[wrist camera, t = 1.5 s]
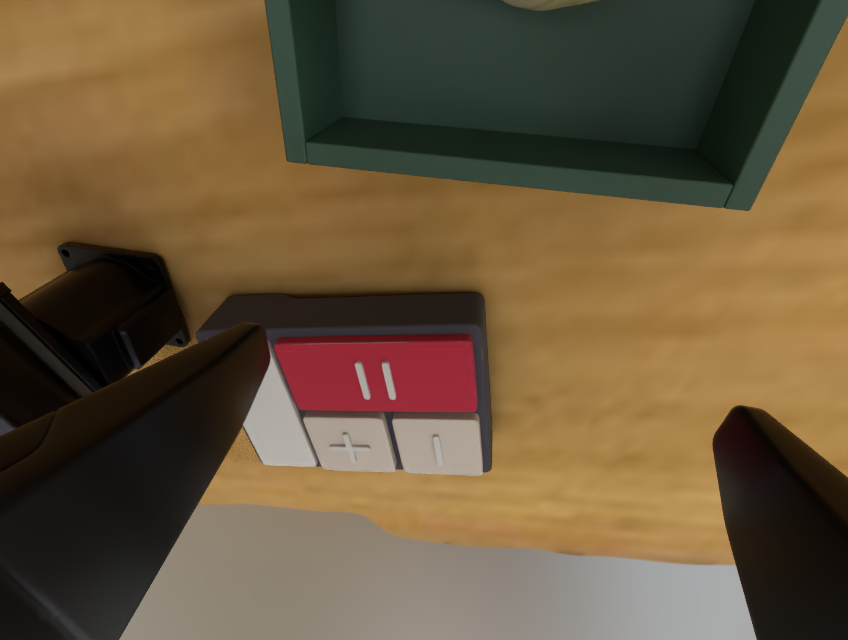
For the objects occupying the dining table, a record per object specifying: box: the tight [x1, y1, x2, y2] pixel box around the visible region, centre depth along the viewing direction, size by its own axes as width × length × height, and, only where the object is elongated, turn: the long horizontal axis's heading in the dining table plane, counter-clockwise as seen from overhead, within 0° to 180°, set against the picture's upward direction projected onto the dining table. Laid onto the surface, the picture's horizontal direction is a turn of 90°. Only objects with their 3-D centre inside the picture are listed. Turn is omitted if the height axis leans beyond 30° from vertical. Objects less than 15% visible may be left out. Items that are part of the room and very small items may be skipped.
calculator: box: [196, 293, 492, 476], centre depth 26 cm, size 11×4×15 cm
